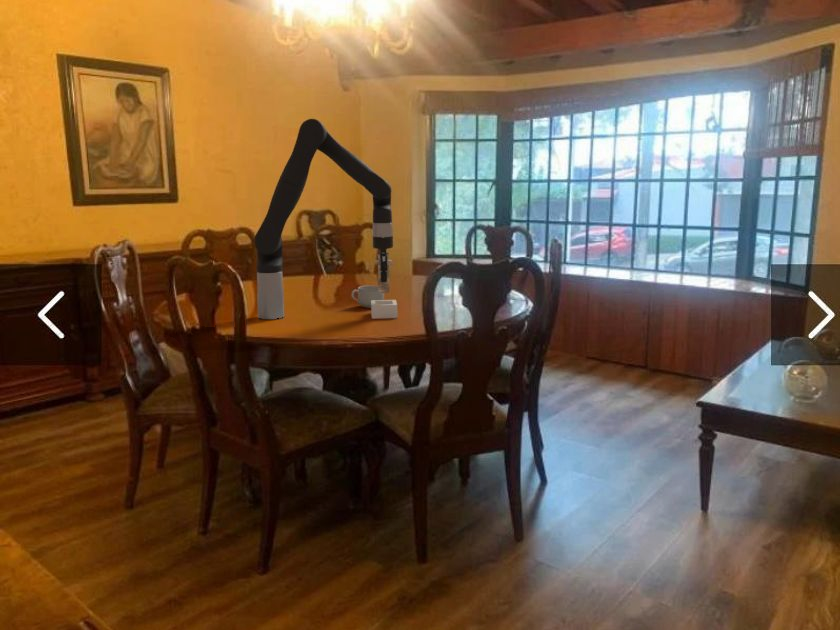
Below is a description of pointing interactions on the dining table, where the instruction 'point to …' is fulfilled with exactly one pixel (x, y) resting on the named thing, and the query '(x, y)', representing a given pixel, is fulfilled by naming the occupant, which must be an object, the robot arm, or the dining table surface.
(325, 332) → the dining table surface
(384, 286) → the bracket
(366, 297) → the teacup
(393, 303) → the well
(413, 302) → the dining table surface
